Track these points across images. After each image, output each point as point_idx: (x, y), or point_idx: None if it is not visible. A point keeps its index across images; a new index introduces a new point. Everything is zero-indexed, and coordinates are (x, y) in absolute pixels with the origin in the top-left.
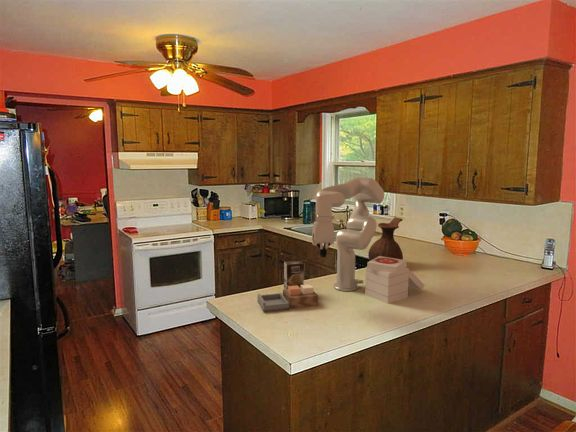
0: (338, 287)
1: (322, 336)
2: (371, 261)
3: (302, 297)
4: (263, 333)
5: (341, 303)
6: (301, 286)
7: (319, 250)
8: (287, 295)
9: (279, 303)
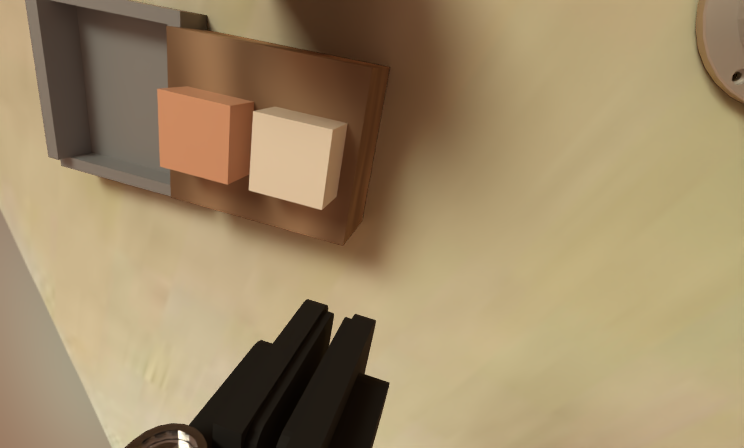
0: (722, 18)
1: None
2: None
3: (247, 216)
4: (75, 324)
5: (505, 266)
6: (253, 137)
7: (211, 398)
8: None
9: (136, 177)
